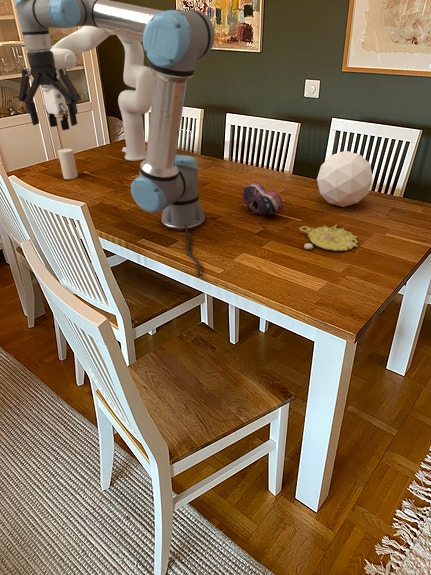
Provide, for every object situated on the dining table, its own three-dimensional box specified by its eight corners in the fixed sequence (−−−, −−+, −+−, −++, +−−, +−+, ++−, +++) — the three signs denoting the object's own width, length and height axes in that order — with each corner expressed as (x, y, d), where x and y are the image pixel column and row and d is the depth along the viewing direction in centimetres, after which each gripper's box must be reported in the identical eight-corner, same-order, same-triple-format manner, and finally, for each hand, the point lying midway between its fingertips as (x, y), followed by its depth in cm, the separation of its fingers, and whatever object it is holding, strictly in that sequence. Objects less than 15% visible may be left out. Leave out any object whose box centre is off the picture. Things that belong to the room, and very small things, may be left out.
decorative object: (343, 255, 128) (285, 234, 139) (342, 262, 130) (284, 241, 140) (372, 230, 142) (317, 213, 152) (371, 237, 143) (316, 219, 153)
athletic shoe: (254, 181, 170) (227, 189, 167) (283, 176, 151) (253, 185, 147) (260, 210, 173) (234, 218, 170) (290, 209, 154) (261, 219, 150)
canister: (80, 175, 203) (75, 148, 197) (72, 179, 198) (67, 152, 192) (68, 174, 205) (63, 148, 199) (60, 178, 200) (54, 151, 194)
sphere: (348, 225, 166) (362, 196, 147) (303, 198, 170) (311, 167, 152) (373, 189, 171) (391, 157, 152) (328, 164, 175) (340, 130, 156)
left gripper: (70, 85, 178) (78, 129, 187) (48, 81, 188) (57, 123, 197) (53, 87, 173) (62, 132, 183) (32, 84, 184) (41, 126, 193)
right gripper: (83, 49, 133) (95, 122, 145) (9, 50, 138) (26, 121, 149) (72, 51, 127) (85, 127, 139) (-6, 52, 132) (14, 126, 143)
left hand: (59, 128), depth 190 cm, fingers open, 9 cm apart
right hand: (55, 124), depth 144 cm, fingers open, 13 cm apart
